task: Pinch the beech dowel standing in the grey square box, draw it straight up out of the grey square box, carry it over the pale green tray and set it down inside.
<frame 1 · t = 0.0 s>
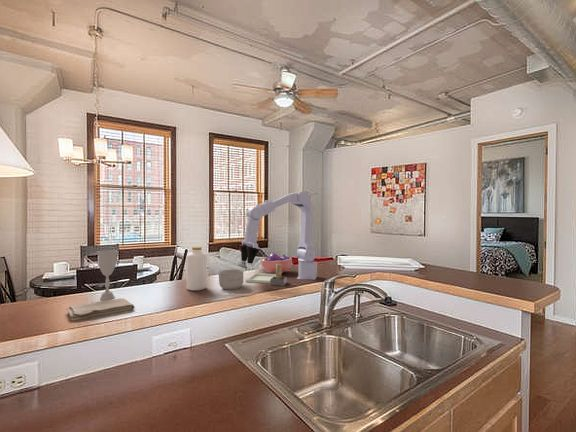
hand: (246, 262, 142), 11 cm above the worktop, tool pointing down, fingers open, 7 cm apart
washcloth: (100, 313, 103), on the worktop
chalice: (107, 298, 119), on the worktop
tray: (262, 280, 152), on the worktop
grey square box: (278, 285, 142), on the worktop
teacup: (233, 288, 136), on the worktop
dowel: (278, 283, 142), point 1 cm above the worktop, touching grey square box
potion bottle: (196, 289, 134), on the worktop
cell model: (276, 273, 170), on the worktop
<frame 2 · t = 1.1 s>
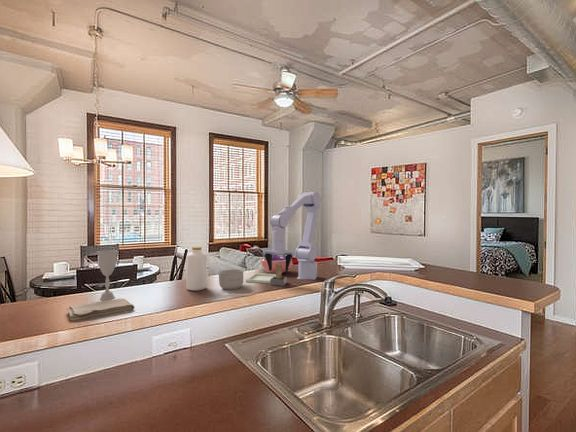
hand: (278, 270, 142), 7 cm above the worktop, tool pointing down, fingers open, 7 cm apart
nothing on the worktop moved.
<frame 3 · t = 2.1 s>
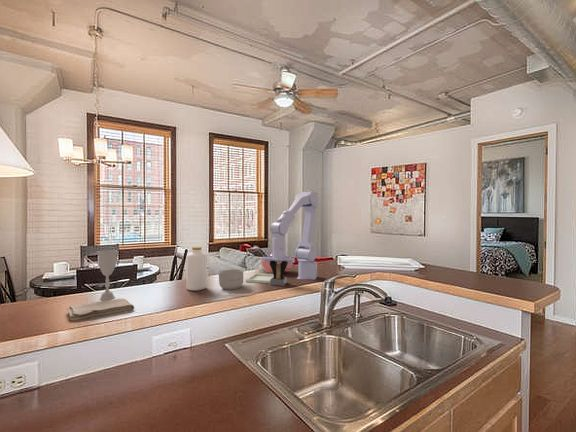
hand: (278, 277, 142), 3 cm above the worktop, tool pointing down, fingers closed on dowel, 3 cm apart
dowel: (278, 283, 142), point 1 cm above the worktop, touching grey square box, gripper
everything else where it was.
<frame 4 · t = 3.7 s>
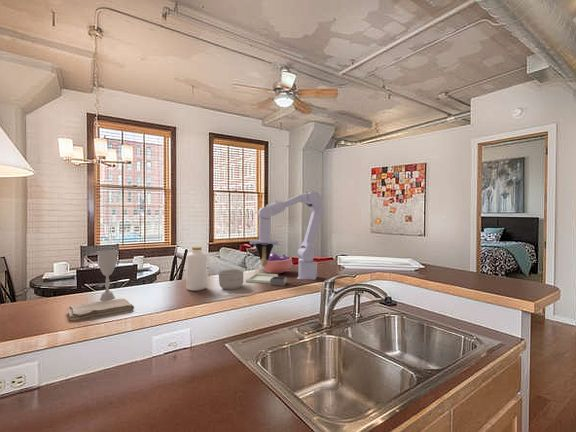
hand: (264, 259, 151), 10 cm above the worktop, tool pointing down, fingers closed on dowel, 3 cm apart
dowel: (264, 265, 151), point 8 cm above the worktop, touching gripper
everything else where it was.
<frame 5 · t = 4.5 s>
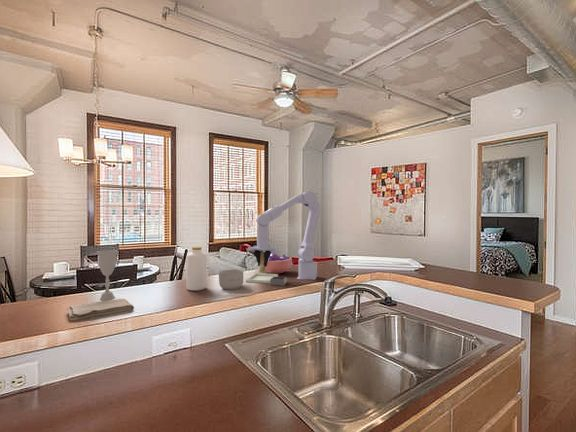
hand: (262, 266, 152), 7 cm above the worktop, tool pointing down, fingers closed on dowel, 3 cm apart
dowel: (262, 271, 152), point 4 cm above the worktop, touching gripper
everything else where it was.
when the fingers open (5 cm above the worktop, at t = 5.2 s): dowel drops 1 cm, resting on tray.
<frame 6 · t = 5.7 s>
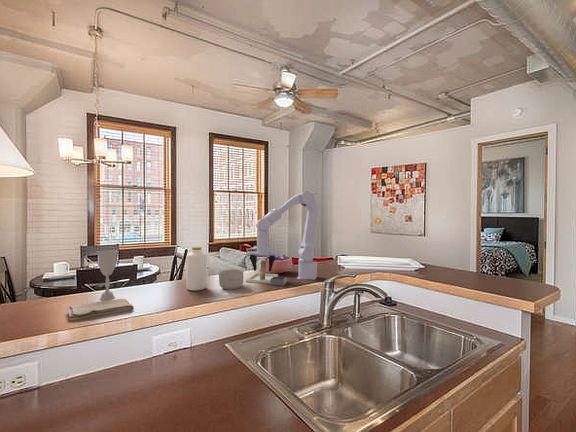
hand: (262, 271, 152), 5 cm above the worktop, tool pointing down, fingers open, 7 cm apart
dowel: (262, 279, 152), point 1 cm above the worktop, touching tray
everything else where it was.
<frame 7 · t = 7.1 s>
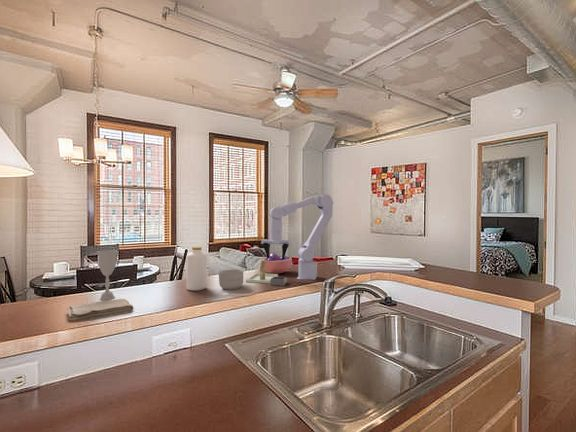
hand: (275, 258, 154), 10 cm above the worktop, tool pointing down, fingers open, 7 cm apart
nothing on the worktop moved.
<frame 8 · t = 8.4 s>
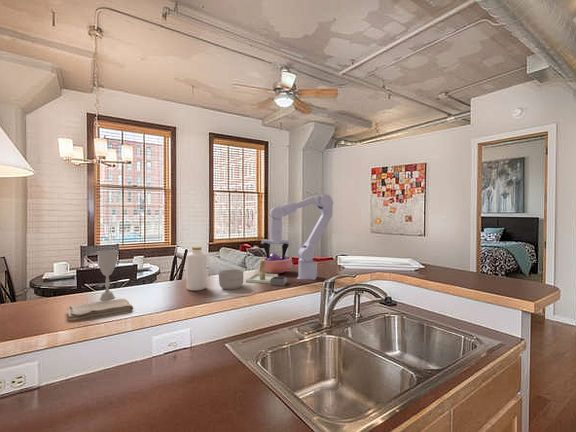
hand: (275, 258, 154), 10 cm above the worktop, tool pointing down, fingers open, 7 cm apart
nothing on the worktop moved.
at the end: dowel inside the target area on the tray (0.2 cm from its centre), point 0.6 cm above the tray's base; the gripper is holding nothing; dowel touching tray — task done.
